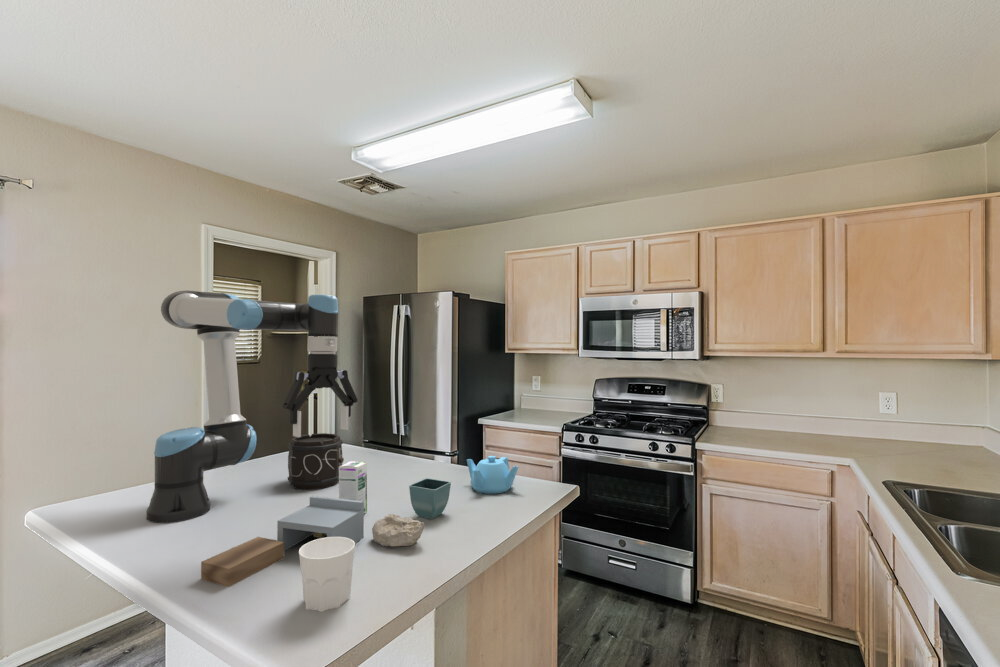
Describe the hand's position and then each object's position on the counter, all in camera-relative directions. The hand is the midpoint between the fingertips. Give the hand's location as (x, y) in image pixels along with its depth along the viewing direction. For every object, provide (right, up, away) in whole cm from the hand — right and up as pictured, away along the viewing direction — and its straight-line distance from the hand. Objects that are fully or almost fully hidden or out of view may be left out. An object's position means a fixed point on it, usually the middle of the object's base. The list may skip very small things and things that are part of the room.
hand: (321, 432), depth 130 cm
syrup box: (+6, -25, +8) cm, 27 cm away
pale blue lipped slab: (+4, -24, -12) cm, 28 cm away
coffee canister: (-16, -26, +39) cm, 50 cm away
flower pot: (+28, -25, +8) cm, 38 cm away
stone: (+22, -25, -11) cm, 35 cm away
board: (-8, -25, -24) cm, 36 cm away
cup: (+15, -24, -37) cm, 47 cm away
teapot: (+45, -26, +33) cm, 61 cm away
